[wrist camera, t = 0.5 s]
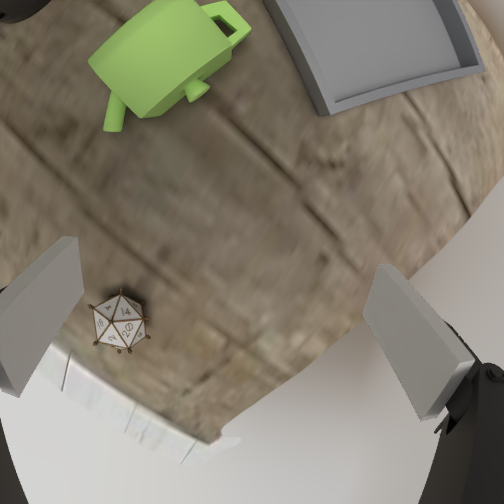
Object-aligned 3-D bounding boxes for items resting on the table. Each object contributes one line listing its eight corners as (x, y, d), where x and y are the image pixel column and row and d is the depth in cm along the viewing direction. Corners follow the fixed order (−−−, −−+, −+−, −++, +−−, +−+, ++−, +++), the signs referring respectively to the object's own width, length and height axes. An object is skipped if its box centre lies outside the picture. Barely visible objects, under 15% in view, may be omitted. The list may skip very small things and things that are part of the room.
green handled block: (141, 152, 34) (114, 167, 26) (92, 96, 30) (53, 96, 22) (262, 55, 30) (273, 38, 22) (208, -2, 26) (202, -34, 18)
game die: (129, 281, 44) (112, 269, 35) (168, 323, 44) (160, 322, 34) (90, 322, 42) (63, 319, 32) (127, 364, 41) (109, 373, 32)
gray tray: (251, -19, 26) (253, -37, 21) (409, -42, 23) (425, -54, 19) (318, 115, 33) (330, 115, 28) (463, 73, 30) (485, 71, 26)
